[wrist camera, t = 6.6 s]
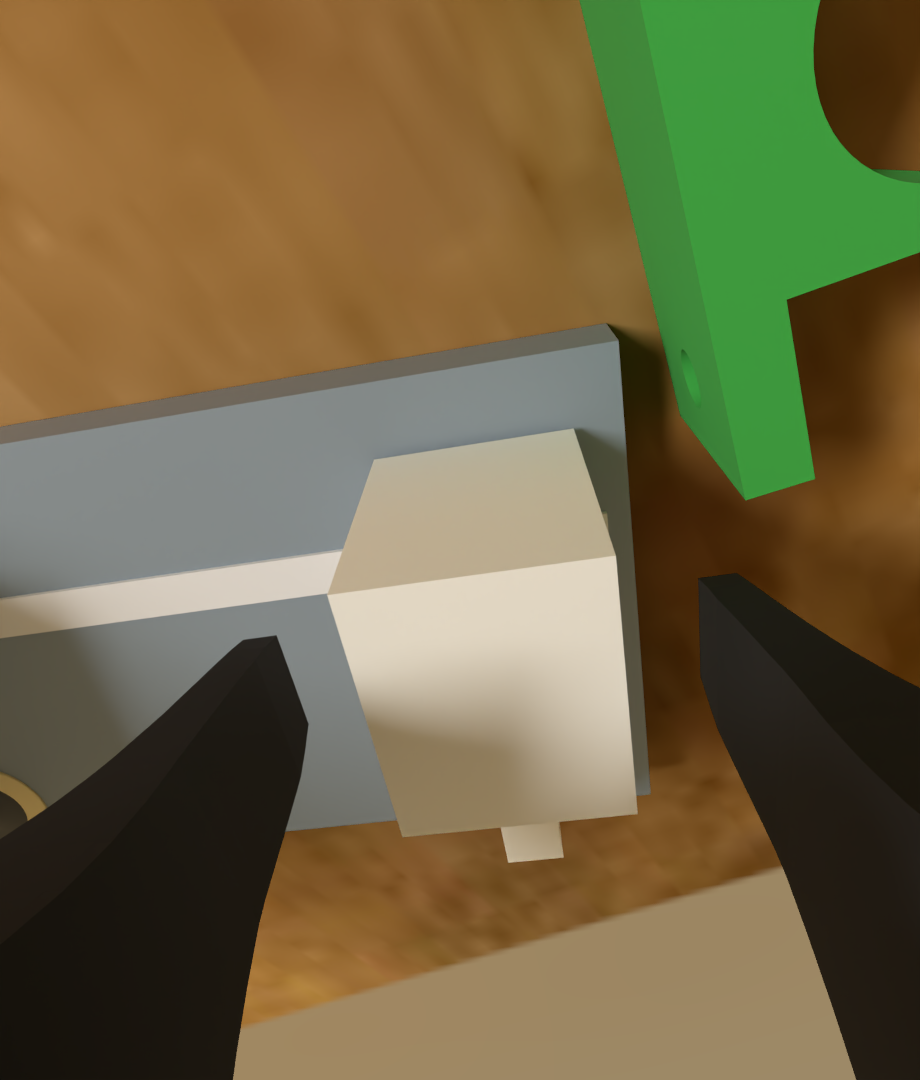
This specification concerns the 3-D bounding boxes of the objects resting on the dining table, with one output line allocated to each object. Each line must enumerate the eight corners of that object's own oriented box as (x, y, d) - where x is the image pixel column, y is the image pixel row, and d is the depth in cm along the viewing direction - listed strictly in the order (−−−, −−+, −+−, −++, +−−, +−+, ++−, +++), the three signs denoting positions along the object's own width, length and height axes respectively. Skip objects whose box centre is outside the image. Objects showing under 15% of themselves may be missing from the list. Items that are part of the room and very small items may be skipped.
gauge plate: (-10, 822, 22) (-186, 1062, 16) (-256, 470, 17) (-653, 643, 11) (639, 752, 20) (704, 998, 14) (605, 323, 15) (689, 439, 9)
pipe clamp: (853, 352, 15) (989, 428, 11) (677, 412, 16) (745, 503, 12) (766, -392, 10) (954, -742, 6) (514, -256, 11) (535, -490, 7)
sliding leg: (452, 777, 19) (444, 970, 14) (374, 459, 14) (327, 595, 10) (608, 759, 18) (649, 954, 14) (573, 428, 14) (616, 555, 10)
